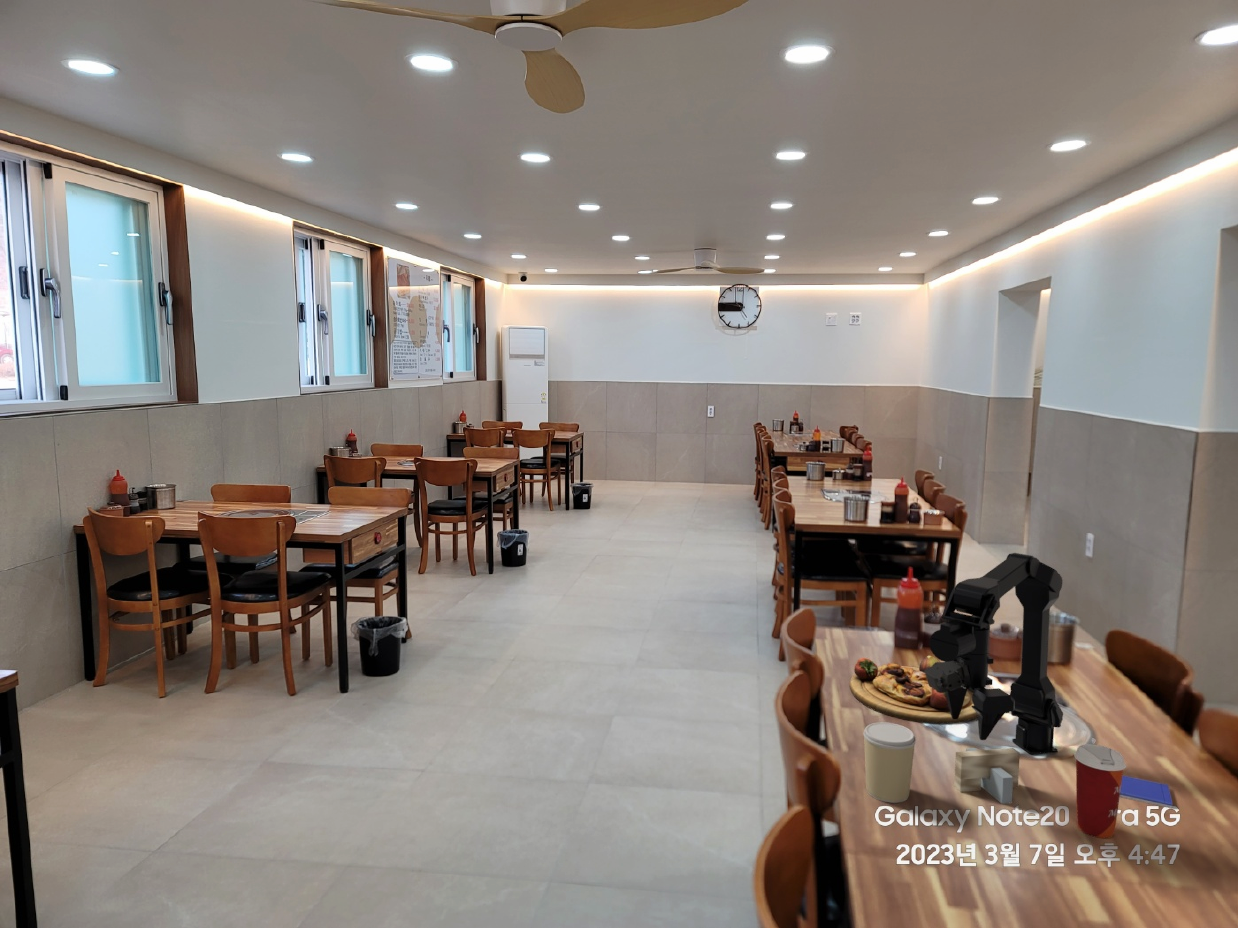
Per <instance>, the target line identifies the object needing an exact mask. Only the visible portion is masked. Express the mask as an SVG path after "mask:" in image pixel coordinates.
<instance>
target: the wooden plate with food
mask: <svg viewBox="0 0 1238 928" xmlns="http://www.w3.org/2000/svg"><path fill="white" fill-rule="evenodd" d="M935 662H940V661H939V659H938V658H937V657H935V656H934V655H933V656H932V655H927V656H925V658H923V659H922V660H921V661H920V664H919V667H915V666H908V665H907V666H906V665H900V664H897V663H892V662H891V663H889V662H888V663H887V664H883V665H879V666H877V664H876V663H875V662H874V661H873V660H871V659H870V658H867V657H861V658H859V659H858V660H857V661H856V663H855V666H854V675H852V676H851V678H850V680H849V689H850V692H851V694H852V695H853V697H854V698H855V699H856V700H857V701H859V703H861V704H863V705H864V706H866V707H867V708H868V709H871V710H874V711H876V712H878V713H881V714H883V715H886V716H890V717H892V718H897V719H900V720H906V721H909V722H910V721H911V722H917V723H926V724H928V723H929V724H930V723H931V724H956V723H964V722H969V721H972V720H975V719H978V713H977V712H976V711H975V710H974V709H973V708H972V707H971V706H974V704H973V701H972V695H973V694H974V693H972V692H971V691H969V690H968V689H967V692H966V695H965V699H964V702H963V706H962V709H961V712H960V715H959V718H958V719H952V716H951V713H950V709H949V706H948V702H947V698H946V695H945V693H938V692H937V691H936V690H935V689H934V688H932V687H930V686H929V684H928V681H927V678H926V675H925V669H927V668H929V667H931V666H933V664H934V663H935ZM971 719H972V720H971ZM968 720H969V721H968Z"/></svg>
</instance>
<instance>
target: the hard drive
mask: <svg viewBox="0 0 1238 928" xmlns="http://www.w3.org/2000/svg"><path fill="white" fill-rule="evenodd" d="M1170 791H1171V790H1170V787H1169V784H1165V783H1159V782H1155V781H1151V780H1146V779H1141V778H1137V777H1131V776H1127V775H1123V776H1122V783H1121V791H1120V798H1123V799H1128V800H1131V801H1137V802H1142V803H1145V804H1151V805H1153V806H1154V805H1155V806H1159V807H1164V808H1169V809H1173V800H1172V796H1171V793H1170Z"/></svg>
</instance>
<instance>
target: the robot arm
mask: <svg viewBox="0 0 1238 928" xmlns="http://www.w3.org/2000/svg"><path fill="white" fill-rule="evenodd" d="M1013 588H1014V589H1015V593H1014V594H1015V596H1016V598H1017V600H1018V601H1019V602H1020V604H1021V606H1022V608H1023V610H1022V611H1023V612H1022V613H1023V615H1022V616H1023V617H1022V640H1021V663H1020V664H1021V666H1020V667H1021V668H1020V669H1021V671H1020V674H1019V676H1018V677H1017V678H1016V680H1015V681H1014V682H1012V683H1011V684H1010V686H1009V687H1010V693H1008V692H1006V691H1004V690H1002V689H1001V688H986V686H993V679H992V678H990V677H989V673H988V671H989V665H992V664H994V657H992V656H990V654H989V653H990V634H991V625H993V624H995V619H994V616H995V615H996V613H997V611H998V610H999V609H1000V607H1001V599H1002V598H1003V597H1004V596H1005V595H1006V594H1008V592H1010V591H1011V590H1013ZM1062 588H1063V577H1062V575H1061V574H1060V573H1058V571H1057V570H1056V569H1055V568H1053V567H1051V566H1049V565H1047V564H1045V563H1043V562H1041V561H1040V560H1039V558H1037V557H1035V556H1034V555H1030V554H1024V553H1017V552H1013V553H1011V552H1010V553H1009V554H1008V555H1007V556H1006V558H1005V559H1004V560H1003V561H1002V562H1000V563H999V564H997V565H996V566H995V567H993V568H992V569H991V570H990V571H988V572H987V573H985V574H984V575H983V576H981V577H974V578H966V579H965V580H962V581H960V582H959V581H958V583H957V584H956V585H955V586H954V587H953V589H952V590H951V591H950V592H951V593H950V595H949V598H948V600H947V602H946V604H945V608H944V610H943V612H942V614H941V619H942V620H944V622H941V623H940V627H939V629H938V630H935V631H934V632H933V633H932V634H931V635H930V638H929V640H928V641H929V642H928V645H929V650H930V651H931V653H932V654H933V656H934V658H936V659H937V660H938V661H939V660H940V661H941V662H940V661H939V662H935V663H934V664H933V666H931V667H929V668H927V669H925V675H926V678H927V681H928V684H929V686H930V687H932V688H934V689H935V690H936V691H937V692H938V693H945V695H946V698H947V702H948V706H949V709H950V713H951V716H952V719H958V718H959V715H960V712H961V709H962V706H963V702H964V699H965V695H966V692H967V689H968V690H969V691H971V692H972V693H974V694H973V695H972V701H973V704H974V706H971V707H972V708H973V709H974V710H975V711H976V712H977V713H978V717H977V722H978V724H977V725H978V727H977V728H978V736H979V740H981V741H987V739H988V738H989V736H990V734H991V733H992V731H993V730H994V729H995V727H996V725H997V724H998V722H999V721H1000V720H1001V719H1002V718H1003V716H1004V715H1005V714H1009V713H1011V716H1012V717H1016V718H1017V724H1016V726H1015V738H1012V739H1011V741H1012V742H1013V743H1014V744H1016V746H1018V747H1019V748H1021V749H1022V750H1024V751H1026V752H1027V753H1028V754H1030V755H1041V754H1055V753H1058V752H1059V749H1058V748H1056V747H1055V746H1054V735H1055V734H1054V733H1055V732H1054V731H1055V728H1061V727H1062V725H1061V724H1062V721H1063V719H1064V718H1063V717H1064V712H1063V711H1062V710H1063V709H1061V707H1060V705H1059V704H1058V701H1057V700H1056V689H1055V687H1054V684H1053V683H1052V682H1051V680H1050V678H1049V677H1048V659H1049V658H1048V656H1049V655H1048V653H1049V637H1050V636H1049V634H1050V632H1049V631H1050V609H1051V607H1052V606H1054V604H1055V603H1056V601H1057V600H1058V599H1059V598H1060V592H1061V591H1062ZM955 611H956V612H955ZM945 620H946V621H947V622H946V621H945Z"/></svg>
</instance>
